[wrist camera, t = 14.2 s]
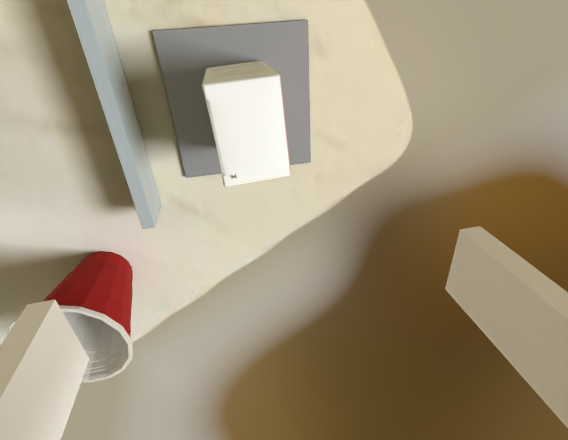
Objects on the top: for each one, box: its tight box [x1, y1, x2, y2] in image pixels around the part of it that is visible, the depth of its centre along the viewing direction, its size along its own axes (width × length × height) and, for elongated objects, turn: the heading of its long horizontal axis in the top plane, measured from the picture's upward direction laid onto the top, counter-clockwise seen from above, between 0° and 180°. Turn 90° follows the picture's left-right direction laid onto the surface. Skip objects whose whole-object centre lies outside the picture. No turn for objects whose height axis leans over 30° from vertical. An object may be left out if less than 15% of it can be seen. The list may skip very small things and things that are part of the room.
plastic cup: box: [5, 252, 133, 382], centre depth 36 cm, size 11×11×12 cm
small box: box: [202, 61, 291, 187], centre depth 29 cm, size 8×6×10 cm
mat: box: [152, 20, 311, 178], centre depth 34 cm, size 14×14×1 cm
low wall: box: [67, 0, 161, 229], centre depth 31 cm, size 1×20×5 cm, turn 3°
